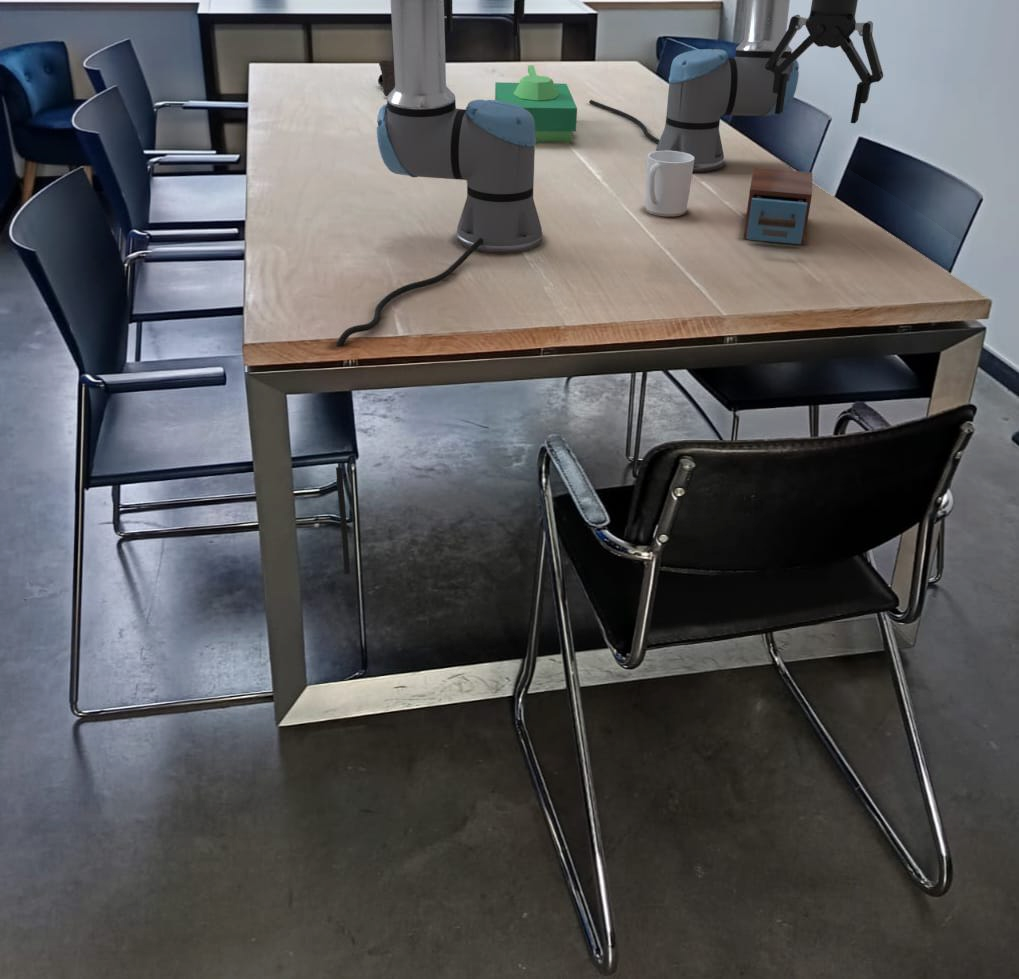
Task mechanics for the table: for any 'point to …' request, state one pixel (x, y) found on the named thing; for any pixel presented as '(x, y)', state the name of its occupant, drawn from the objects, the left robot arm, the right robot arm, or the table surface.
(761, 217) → the drawer
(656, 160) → the mug
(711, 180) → the table surface
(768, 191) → the cabinet
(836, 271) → the table surface
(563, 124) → the toy tank
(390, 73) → the axe head
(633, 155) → the table surface
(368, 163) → the table surface
